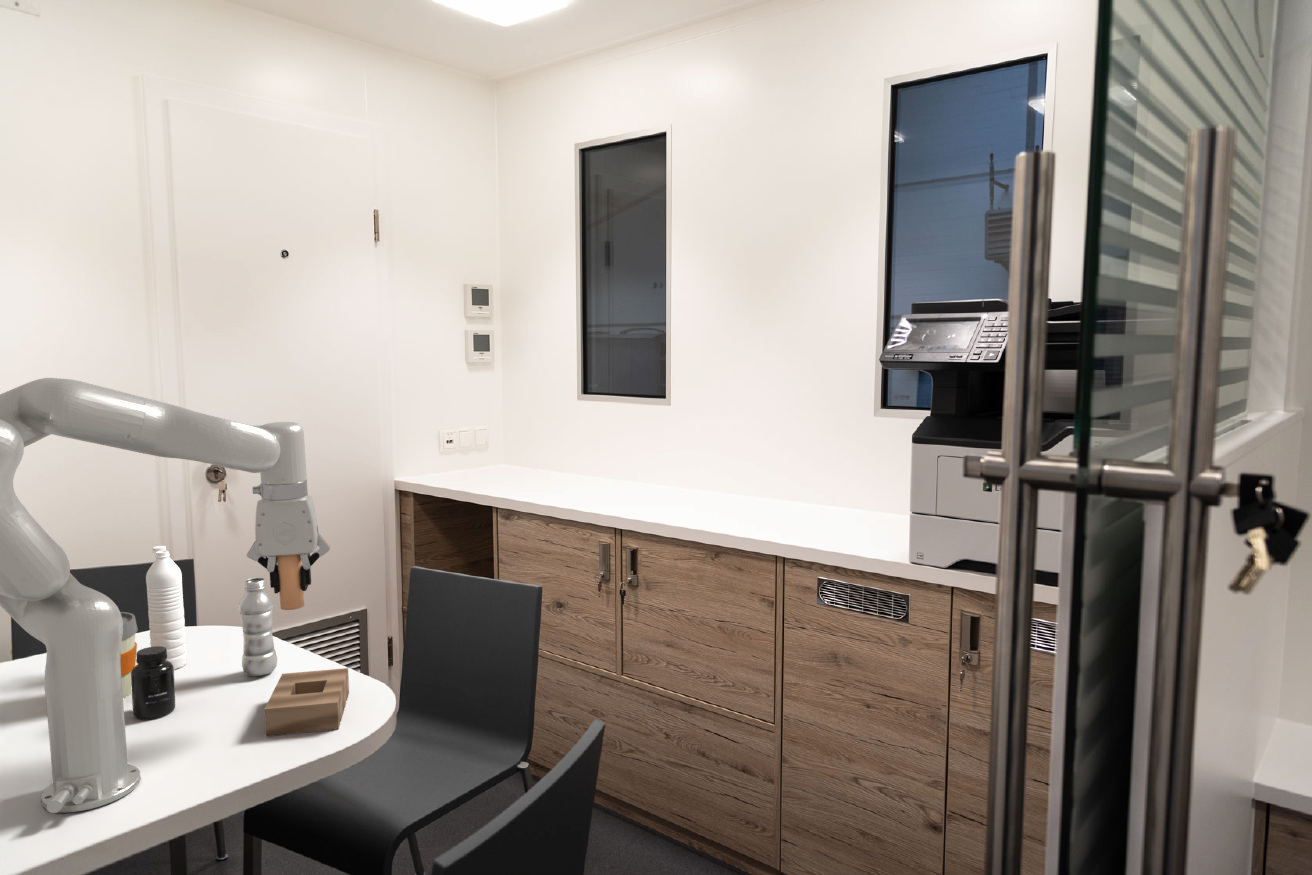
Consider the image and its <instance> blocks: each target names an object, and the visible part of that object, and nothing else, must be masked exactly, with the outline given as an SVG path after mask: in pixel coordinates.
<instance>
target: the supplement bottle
mask: <svg viewBox="0 0 1312 875" xmlns="http://www.w3.org/2000/svg"><path fill="white" fill-rule="evenodd" d="M166 659H167V649H166V647H162V646H154V647H151V646H150V647H144V648H141V649H139V650H138V651H136V663H135V667H134V668H133V670H132V671H131V703H132V715H133V717H134V718H135V719H138V720H141V721H142V720H143V721H145V720H154V719H159V718H163V717H167V716H168V715H169V714H172V713H173V712H174V710H175V709H176V690H175V689H176V687H175V684H176V683H175V670H174V666H173V664H172V663H171V662H170V661H168V660H166Z"/></svg>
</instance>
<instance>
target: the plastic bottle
mask: <svg viewBox="0 0 1312 875" xmlns="http://www.w3.org/2000/svg"><path fill="white" fill-rule="evenodd" d="M244 586H245V587H244V591H245V592H246V593H245V594H244V596H243V597H242V598H241V600H240V601H239V604H238V613H239V617H240V622H241V627H242V633H243V635H242V637H243V654H242V658H241V667H242V671H243V673H244V674H245V675H246V676H249V677H262V676H265V675H269V674H270V673H272V672H274V671H275V669H276V667H277V664H278V657H277V653H276V649H275V644H274V639H273V637H274V636H273V615H274V600H273V598H272V597H271V596H270V594H269V593H267V592H266V590H265V589H266V587H267V586H266V579H265V578H263V577H253V578H248V579H246V580H245V582H244Z"/></svg>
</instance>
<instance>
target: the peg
mask: <svg viewBox="0 0 1312 875" xmlns="http://www.w3.org/2000/svg"><path fill="white" fill-rule="evenodd" d="M277 565H278V576H279V590H280V592H279V602H280V609H281V610H282V611H283V610H284V611H294V610H299V609H302V608H304V606H305V595H304V594H305V593H304V592H305V591H303V590H302V589H301V574H300V571H301V569H302V561H301V557H300V555H289V556H277Z"/></svg>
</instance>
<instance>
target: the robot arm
mask: <svg viewBox="0 0 1312 875" xmlns="http://www.w3.org/2000/svg"><path fill="white" fill-rule="evenodd" d="M50 435H52V436H54V435H55V436H58V437H62V438H66V439H67V438H68V439H71V440H76V441H82V442H86V443H92V444H96V445H101V446H107V447H109V448H115V449H120V450H124V451H125V450H126V451H130V452H133V453H134V452H135V453H139V454H143V455H149V456H155V457H159V458H169V459H170V458H171V459H179V460H188V461H194V462H200V463H205V464H210V465H215V466H219V467H221V468H224V469H230V470H236V471H241V472H247V473H249V474H250V473H251V474H259V473H260V484H258V485H257V486H252V494H253V495H259V496H260V498H261V499H259V500H257V503H256V508H255V510H256V511H255V522H254V523H255V524H254V525H255V528H254V529H255V532H254V533H255V537H254V538H255V540H254V542H253V544H252V545H251V546H250V548H249V550H248V552H247V553H246V557H247V558H248V559H250V560H253V561H254V562H257V563H258V564H260V565H261V566H262V567H263V568H265V569H266V571H267V573H269V581H270V588H271V589H273V591H274V592H273V593H274V594H279V593H280V590H279V576H278V564H277V556H289V555H300V557H301V561H302V569H301V571H300V574H301V589H302V590H303V591H304V592H306V591H307V589H308V587H309V586H311V585H312V573H311V572H312V571H311V567H312V566H313V565H314V564H315V562H317V561H318V559H319V558H321V557H323V556H324V555H326V554H327V553H329V551H330V549H331V547H330V545H329V544H328V543H327V542H326V540H325V539H324V537H323V536H321V534H320V533H319V525H318V519H317V513H316V508H315V504H314V503H315V502H314V500H313V497H312V496H311V495H308V494H309V493H308V478H307V464H306V463H307V460H306V446H305V445H306V444H305V433H304V427H303V426H302V425H301V424H300V423H298V422H293V421H278V422H277V421H276V422H268V423H265V424H262V425H250V424H246V423H243V422H237V421H235V420H231V419H226V418H222V417H217V416H213V415H210V414H206V413H202V412H198V411H194V410H191V409H188V408H185V407H181V406H178V405H175V404H171V403H168V402H167V403H166V402H163V401H160V400H159V401H158V400H156V399H151V398H147V397H142V396H139V395H137V394H136V395H135V394H131V393H127V392H124V391H120V390H115V389H112V388H108V387H105V386H101V385H96V384H93V383H88V382H84V381H80V380H76V379H70V378H58V377H43V378H38V379H34V380H32V381H29V382H26V383H24V384H22V385H19V386H17V387H14V388H11V389H10V390H7V391H5V392H1V393H0V607H1V608H2V609H3V610H4V611H5V612H6V613H7V615H9V616H10V617H11V618H12V619H13V620H14V622H16V623H17V624H18V625H19V626H20V627H21V628H22V629H23V630H24V631H25V632H26V633H28V634H29V635H30V636H31V637H33V638H34V639H36V640H37V641H39V642H41V643H42V644H43V645H45V648H46V662H45V667H44V668H45V670H44V693H45V694H44V695H45V702H46V703H45V704H46V705H45V706H46V715H47V717H46V718H47V725H48V740H49V752H50V760H51V761H50V764H51V776H52V783H50V784H49V785H48V786H46V788H45V789H44V790H43V792H42V793H41V796H40V797H41V799H40V800H41V806H42V807H43V808H44V809H45V810H47V811H48V813H50V814H56V813H76V812H77V813H78V812H83V811H88V810H92V809H96V808H100V807H102V806H105V805H108V804H111V803H113V802H115V801H118V800H120V799H121V798H123V797H125V796H127V795H128V794H129V793H131V792H133V790H135V789H136V788H137V786H139V784H140V781H141V780H142V779H141V778H142V777H141V771H140V769H139V768H138V767H137V766H135V765H133V764H129V763H128V750H127V736H126V735H127V734H126V724H125V723H126V722H125V707H124V706H125V705H124V699H123V692H122V681H121V661H120V659H121V643H122V634H123V621H122V616H121V613H120V612H121V611H120V609H119V606H118V605H117V604H116V603H115V602H114V601H113V600H112V599H111V598H110V597H109V596H107V595H106V594H104V593H102V592H100V591H98V590H95V589H93V588H91V587H88V586H86V585H84V584H82V583H80V582H79V581H78V579H77V578H76V577H75V576H74V575H73V574H72V573H71V565H70V560H69V558H68V556H67V554H66V552H65V551H64V549H63V548H62V546H60V545H59V544H58V543H57V542H56V541H55V540H54V539H53V538H52V537H51V536H50V535H49V534H48V533H47V532H46V531H45V529H44V528H43V527H42V526H41V525H40V524H39V522H37V520H36V519H35V518H34V517H33V516H32V515H31V514H30V512H29V511H28V510H27V508H26V507H25V505H24V504H22V502H21V500H19V497H18V496H17V494H16V492H15V488H14V478H15V474H16V471H17V470H18V467H19V465H20V464H21V461H22V459H23V456H24V452H25V448H26V447H28V446H31V445H32V444H34V443H36V442H39V441H41V440H42V439H44V438H46V437H48V436H50ZM316 549H317V550H316Z"/></svg>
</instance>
